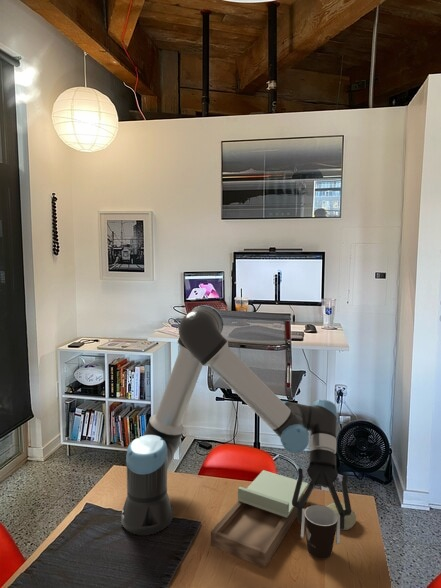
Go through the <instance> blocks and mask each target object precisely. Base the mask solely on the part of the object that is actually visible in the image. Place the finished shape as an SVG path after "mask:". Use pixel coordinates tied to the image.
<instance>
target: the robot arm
mask: <svg viewBox="0 0 441 588" xmlns="http://www.w3.org/2000/svg"><path fill="white" fill-rule="evenodd" d="M178 325H179V326H178V335H179V337H178V340H177V344H178V346H179V348H180V349H179V350H178V354H177V356H176V359H175V361H174V365H173V367H172V370H171V373H170V376H169V378H168V382H167V384H166V386H165V389H164V392H163V395H162V398H161V401H160V403H159V406H158V409H157V411H156V413H155V414H152V416H150V417H149V420H148V423H147V426H146V427H145V428H146V429H145V431H144V433H143V435H141V436H139V438H137V437H136V438H135V439H133V440H131V442H130V443H129V444H128V446H127V449H126V456H125V457H126V458H125V462H126V488H127V489H126V494H127V495H126V498H125V501H124V504H123V508H122V511H121V516H120V517H121V526H122V525H123V526H122V528H123V527H124V528H125V529H126V530H128V531H129V532H130V534H132V533H133V535H135V534H137V535H136V536H150V534H152V535H155V534H157V533H156V532H158V533H160V532H159V531H161V530H162V529H164V528H166V527H167V526H168V525H169V524H170V523H172V522H173V520H172V519H174V508H173V505H172V503H171V501H170V497H169V493H168V469H169V467H170V465H171V462H172V460H173V458H174V456H175V453H176V452H178V448H179V446H180V442H181V438H182V436H183V433H184V429H185V428H184V425H183V424H182V423H183V420H184V417H185V415H186V412H187V409H188V407H189V403H190V401H191V398H192V396H193V393H194V390H195V388H196V385H197V383H198V379H199V377H200V374H201V371H202V369H203V367H210V369H211V370H213V372H214V373H216V375H217V376H219V377H220V379H221V380H222V381H223V382H224V383H225V384H227V386H228V387H229V388H230V389H231V390H232V391H233V392H234V393H235V394H236V395H238V397H240V399H241V400H242V401H243V402H244V403H245V404H246V405H247V406H248V407H249V408H250V409H251V410H252V411H253V412H254V413H255V414H256V415H257V417H259V418H260V419H261V420H263V422H264V423H265V424H266V425H267V426H268V427H269V428H270V429H271V430H272V431H273V432H274V433H275V434H276V435H277V436H278V437H279V438H280V442H281V444H282V447H283V448H284V449H285V450H286V451H287V452H289V453H292V454H299V453H302V452H303V451H305V449H307V447H308V445H309V461H308V468H307V469H306V468H305V469H304V468H303V469H302V468H300V467H299V468H297V476H298V477H297V479H296V480H297V484H296V488H295V492H294V495H293V499H292V505H293V506H295V507H296V508H297V509H298V515H297V517H296V518H297V523H300V524H301V525H300V526H301V527H300V528H301V529H300V538H301V539H304V538H305V515H304V512H305V509H306V508H304V507H305V505H306V504H307V501H308V500H309V498H310V496H311V494H312V493H313V490H314V489H315V487H323V488H327V489H328V490H329V492H330V495H331V497H332V500H333V503H335V505H336V508H337V510H338V513H339V515H338V514H337V516H338V521H337V527H336V532H335V544H336V545H340V544H341V542H340V540H341V536H340V535H341V531H344V530H343V529H344V517H345V516H348V515H350V514H351V509H352V506H351V502H350V501H351V500H350V495H349V489H348V486H347V484H348V483H347V481H348V475H347V474H343V475H342V474H340V473H338V470H337V425H338V423H337V422H338V413H337V412H338V411H337V405H336V404H335V403H334V402H332V401H331V400H326V399H322V400H321V399H317V400H314V401H313V402H312V405H306V404H300V403H297V402H291V401H288V400H281V399H280V398H279V397H278V396H277V394H275V392H273V391H272V390H271V388H269V387H268V385H267V384H265V382H263V380H262V379H260V377H259V376H258V375H257V374H256V373H254V372H253V370H252V369H251V368H249V366H248V365H247V364H245V362H244V361H243V360H242V359H241V358H240V357H239V356H238V355H237V354H236V353H235V352H234V351H233V350H232V349H231V348H230V347H229V341H228V340H227V339H226V338H225V337H224V336H223V335H222V332H223V329H224V320H223V316H222V315H221V313H220V311H218V310H217V309H216V308H215V307H213V306H211V305H204V304H203V305H198V306H195V307H194V308H192V309H191V310H190V312H188V313H187V314H185V315H184V316H183V318H182V319H181V320H180V322H179V324H178ZM309 432H310V433H309ZM309 437H310V438H309ZM309 442H310V444H309ZM307 475H308V476H309V478H310V481H309V483H308V486H307V488H306V490H305V491H304V493H303V494H304V495H303V497H302V499H301V501H300V503H299V502H297V500H298V497H299V493H300V489H301V485H302V482H304V481H303V479H304V478H306V476H307ZM336 480H338V482H339V484H341V485H340V486H341V491H342V497H343V503H344V504H345V509H346V510H343V507H342V505H341V503H342V502H341V500H340V498H339V495H338V493H337V490H336V488H335V485H334V483H335V481H336ZM171 521H172V522H171ZM170 525H171V524H170ZM170 525H169V526H170ZM169 526H168V527H169ZM168 527H167V528H168ZM124 528H123V529H124ZM167 528H166V529H167ZM125 529H124V530H125ZM126 530H125V531H126ZM164 530H165V529H164ZM128 531H127V532H128ZM129 532H128V533H129ZM161 532H162V531H161ZM154 533H155V534H154Z"/></svg>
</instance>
